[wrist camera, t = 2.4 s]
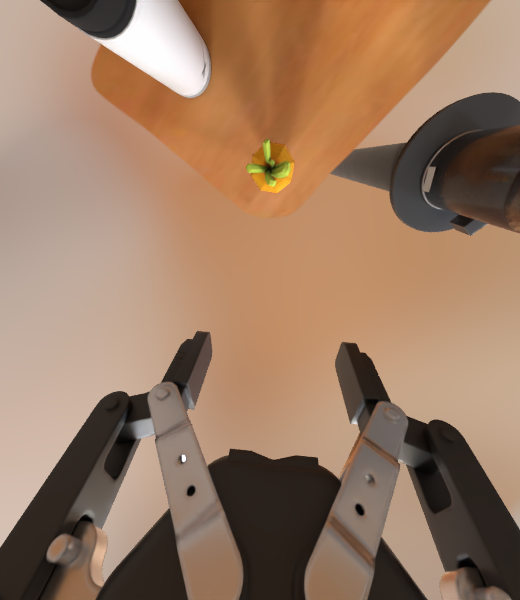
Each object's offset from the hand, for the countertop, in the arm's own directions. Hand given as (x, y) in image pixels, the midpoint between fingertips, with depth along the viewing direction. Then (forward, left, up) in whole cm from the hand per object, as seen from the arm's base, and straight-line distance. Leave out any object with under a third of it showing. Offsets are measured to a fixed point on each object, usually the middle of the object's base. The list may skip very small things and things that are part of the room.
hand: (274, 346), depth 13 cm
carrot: (+6, -6, -28) cm, 30 cm away
